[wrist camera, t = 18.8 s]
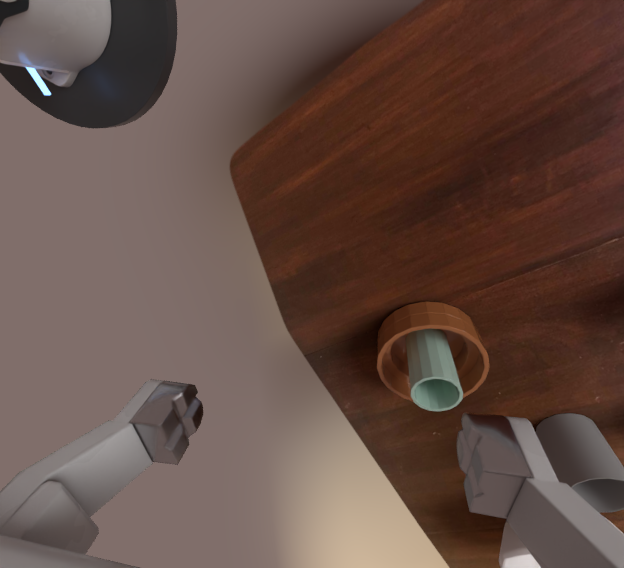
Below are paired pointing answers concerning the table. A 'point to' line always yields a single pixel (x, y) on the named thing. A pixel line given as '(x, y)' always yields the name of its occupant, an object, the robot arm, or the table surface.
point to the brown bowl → (436, 316)
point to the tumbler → (432, 370)
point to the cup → (583, 460)
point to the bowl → (517, 551)
